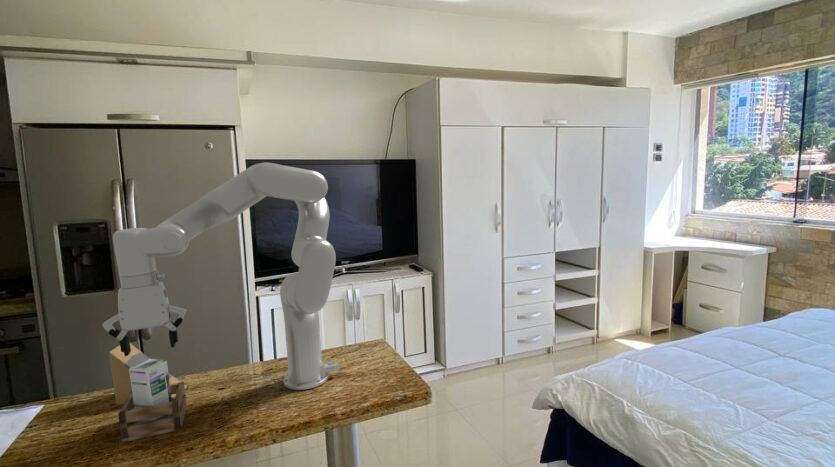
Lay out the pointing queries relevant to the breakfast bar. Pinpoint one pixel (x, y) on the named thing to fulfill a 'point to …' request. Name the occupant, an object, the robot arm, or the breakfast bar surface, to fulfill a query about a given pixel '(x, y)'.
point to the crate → (155, 427)
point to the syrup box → (150, 385)
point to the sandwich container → (127, 371)
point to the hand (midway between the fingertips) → (151, 349)
